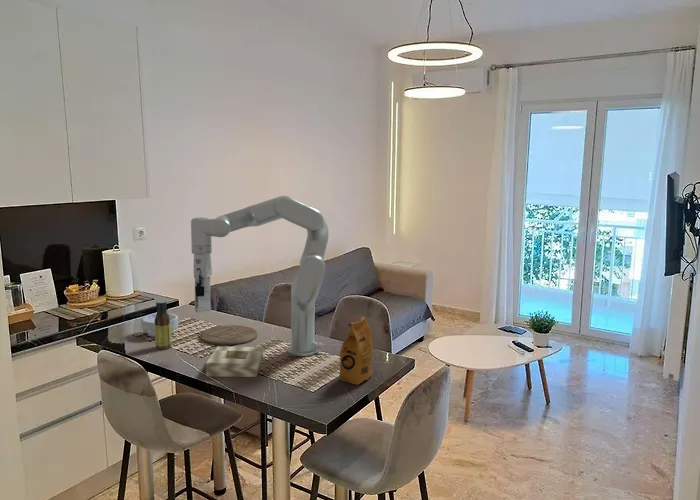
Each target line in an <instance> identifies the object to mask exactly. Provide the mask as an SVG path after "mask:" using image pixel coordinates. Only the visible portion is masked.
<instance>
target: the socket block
mask: <svg viewBox="0 0 700 500" xmlns="http://www.w3.org/2000/svg"><path fill="white" fill-rule="evenodd" d="M263 360H264V347H262V346H261V347H259V346H258V347H257V346H217V347H216V348H215V349H214V351H213V352H212V354H210V357H209V358H208V359H207V361H206V365H205V366H206V367H205V370H206V371H205V373H206V374H205V375H206V377H225V378H226V377H235V378H237V377H240V378H241V377H242V378H244V377H245V378H257V377H258V374H259V372H260V369H261V367H262V363H263Z"/></svg>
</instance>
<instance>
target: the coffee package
mask: <svg viewBox="0 0 700 500" xmlns="http://www.w3.org/2000/svg"><path fill="white" fill-rule="evenodd" d="M347 327H349V328H350V330H349V331H348V334H347V337H346V339H344V341H343V343H342V345H341V348H340V353H339V361H340V363H339V380H340V381H341V382H345V383H347V382H348V384H351V385H355V384H356V385H355V386H359V385H361V384H362V383H363V382H366V381H365V380H367V381H368V380H369V379H370V378H371V377H372V376H373V374H372V371H373V369H372V368H373V356H374V355H373V353H374V351H373V350H374V349H373V348H374V347H373V343H374V342H373V335H372V331H371V327H370V326H369V323H368V321H367V319H366V317H365V316H360V318H359V321H355V322H349V323H348V324H347ZM371 375H372V376H371ZM360 383H361V384H360ZM358 384H359V385H358Z"/></svg>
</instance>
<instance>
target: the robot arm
mask: <svg viewBox="0 0 700 500" xmlns="http://www.w3.org/2000/svg"><path fill="white" fill-rule="evenodd" d="M281 219H284V220H285V221H288V222H290V223H292V224H294V225H296V226H299V227H301V228H303V229H305V230H306V231H307V237H306V241H305V244H304V249H303V252H302V254H301V258H300V260H299V267H300V269H299V274H298V277H296V278H295V279H294V280H293V282H292V284H291V287H290V290H291V291H290V295H291V296H290V297H291V315H290V316H291V317H290V318H291V323H290V328H291V329H290V334H291V335H290V339H291V341H290V345H289V346H288V347H287V353H288V354H289V355H291V356H296V357H310V356H313V355H315V354H317V353H318V352H319V351H318V349H326V347H325V346H326V344H325V343H323V342H317V341H316V339H315V314H316V313H315V310H316V307H315V305H316V302H315V301H316V300H317V299H318V296H319V293H320V290H321V286H322V283H323V280H324V277H325V274H326V273H325V272H326V263H325V261H324V258H325V254H326V249H327V245H328V241H329V227H328V224H327V222H326V221H327V220H326V219H325V218H324V216H323V214H322V212H321V211H320V210H318V209H317V208H315V207H312V206H308V205H307V204H304V203H302V202H300V201H299V200H296V199H294V198H292V197H290V195H280V196H277V197H274V198H272V199H268V200H264V201H262V202H258V203H255V204H252V205H249V206H247V207H244V208H242V209H239V210H235V211H232V212H229V213H225V214H223V215H220V216H217V217H216V218H208V217H201V216H200V217H193V218H191V221H190V232H191V234H190V237H191V238H190V239H191V241H190V242H191V254H192V255H193V278H194V287H195V286H196V296H204V286H203V283H204V278H205V279H207V278H208V276H210V277H211V276H212V275H213V273H212V272H213V271H212V270H213V269H212V256H211V254H212V237H214V238H215V237H216V238H225V237H226V236H228V235H230V234H231V232H235V231H237V230H241V229H244V228H248V227H259V226H262V225H266V224H268V223H271V222H275V221H278V220H281ZM200 277H202V278H200ZM195 280H196V281H195ZM201 280H202V282H201ZM195 283H196V284H195Z"/></svg>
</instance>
